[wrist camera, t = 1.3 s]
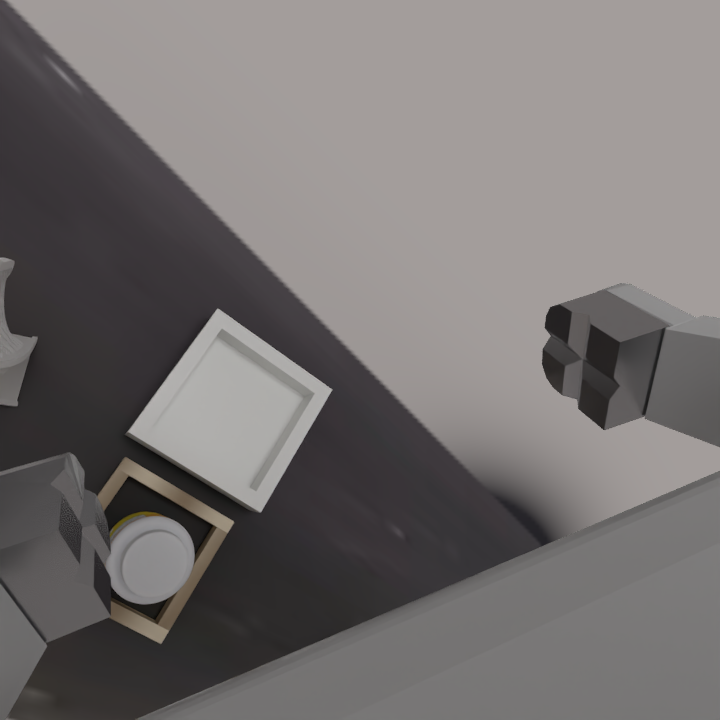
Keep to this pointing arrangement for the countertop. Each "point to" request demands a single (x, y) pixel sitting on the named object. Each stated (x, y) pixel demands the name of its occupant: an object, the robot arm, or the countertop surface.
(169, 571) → the supplement bottle
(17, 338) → the skyscraper
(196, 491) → the countertop surface
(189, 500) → the wooden frame
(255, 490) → the tray
